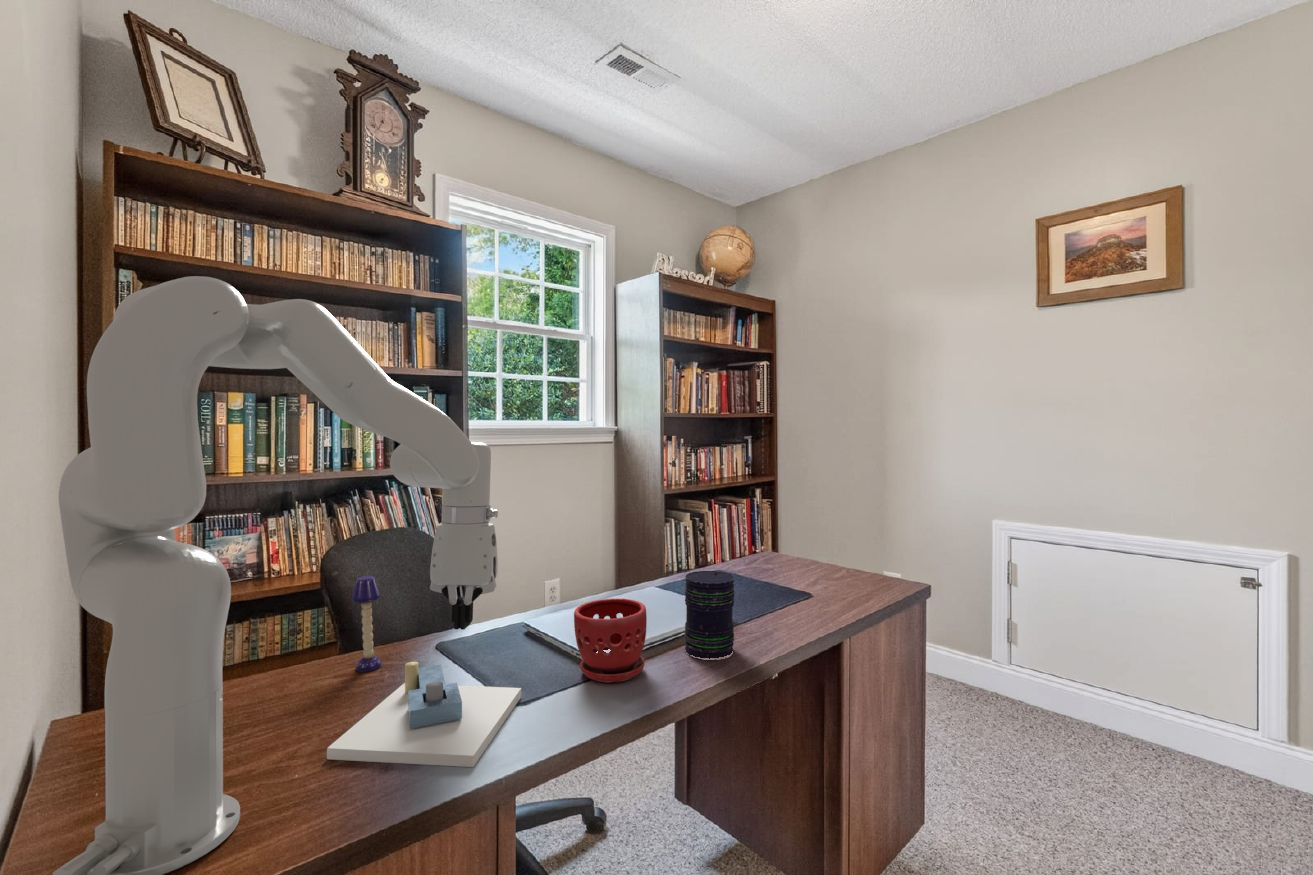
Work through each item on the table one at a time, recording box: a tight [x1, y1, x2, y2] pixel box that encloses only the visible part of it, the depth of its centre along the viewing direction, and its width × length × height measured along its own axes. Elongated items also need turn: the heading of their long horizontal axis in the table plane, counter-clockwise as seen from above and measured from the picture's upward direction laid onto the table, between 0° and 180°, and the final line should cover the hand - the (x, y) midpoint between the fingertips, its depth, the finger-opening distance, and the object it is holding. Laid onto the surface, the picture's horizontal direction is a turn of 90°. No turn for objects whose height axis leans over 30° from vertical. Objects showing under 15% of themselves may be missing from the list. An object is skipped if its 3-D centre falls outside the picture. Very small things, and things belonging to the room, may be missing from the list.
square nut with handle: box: [408, 664, 462, 729], centre depth 90 cm, size 16×7×2 cm, turn 25°
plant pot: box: [573, 598, 648, 684], centre depth 105 cm, size 13×13×12 cm
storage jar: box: [684, 570, 735, 659], centre depth 116 cm, size 10×10×15 cm
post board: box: [326, 661, 522, 768], centre depth 86 cm, size 20×20×6 cm
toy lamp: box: [351, 575, 382, 673], centre depth 107 cm, size 5×5×17 cm
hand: (462, 626), depth 96 cm, fingers closed
